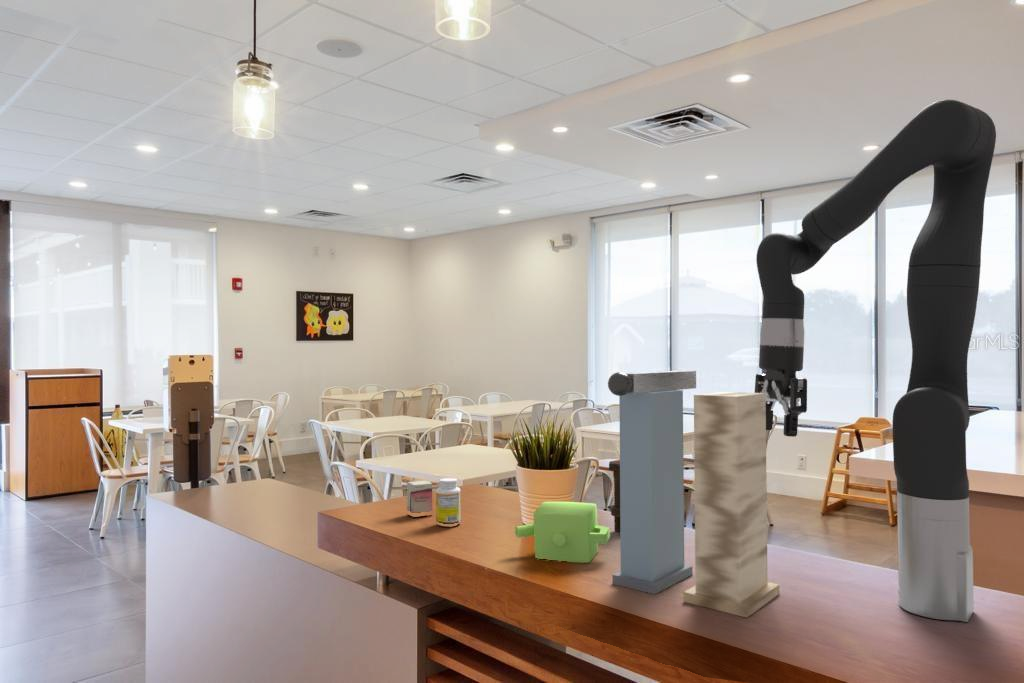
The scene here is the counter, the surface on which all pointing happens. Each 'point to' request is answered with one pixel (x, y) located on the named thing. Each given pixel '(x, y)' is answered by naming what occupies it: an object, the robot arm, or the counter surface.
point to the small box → (419, 496)
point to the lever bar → (651, 382)
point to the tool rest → (730, 503)
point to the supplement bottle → (448, 502)
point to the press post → (651, 491)
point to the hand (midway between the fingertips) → (777, 432)
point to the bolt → (616, 493)
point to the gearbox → (565, 531)
